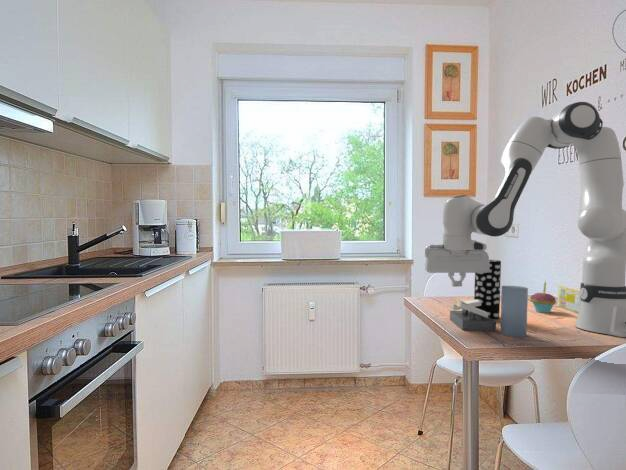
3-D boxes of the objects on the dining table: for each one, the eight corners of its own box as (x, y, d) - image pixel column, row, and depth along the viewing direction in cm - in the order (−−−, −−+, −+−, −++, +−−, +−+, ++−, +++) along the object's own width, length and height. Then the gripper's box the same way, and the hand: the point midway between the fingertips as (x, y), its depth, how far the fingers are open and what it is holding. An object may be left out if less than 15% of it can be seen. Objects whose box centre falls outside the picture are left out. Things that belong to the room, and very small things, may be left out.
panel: (479, 320, 140) (480, 306, 139) (495, 330, 126) (496, 316, 125) (449, 319, 140) (450, 305, 140) (462, 330, 126) (462, 315, 126)
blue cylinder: (520, 331, 126) (521, 285, 125) (530, 337, 119) (532, 289, 118) (496, 330, 126) (498, 285, 126) (506, 337, 119) (507, 289, 119)
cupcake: (559, 314, 150) (560, 282, 150) (534, 313, 151) (535, 281, 151) (549, 309, 158) (550, 278, 158) (526, 308, 160) (527, 278, 159)
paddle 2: (483, 315, 131) (485, 310, 131) (487, 317, 127) (489, 312, 127) (456, 304, 131) (458, 300, 131) (459, 307, 128) (461, 302, 128)
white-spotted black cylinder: (497, 315, 147) (498, 259, 147) (501, 320, 139) (502, 262, 139) (472, 313, 149) (473, 259, 149) (475, 318, 141) (476, 261, 141)
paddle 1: (477, 303, 138) (476, 298, 138) (481, 305, 134) (480, 300, 134) (450, 308, 138) (449, 303, 138) (453, 310, 135) (452, 305, 135)
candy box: (588, 315, 150) (589, 292, 150) (582, 315, 150) (583, 292, 150) (561, 306, 166) (562, 286, 166) (556, 306, 166) (557, 285, 166)
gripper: (427, 245, 133) (427, 287, 133) (491, 244, 132) (491, 287, 132) (422, 244, 139) (423, 285, 139) (484, 244, 138) (484, 285, 138)
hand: (456, 286), depth 136 cm, fingers closed
